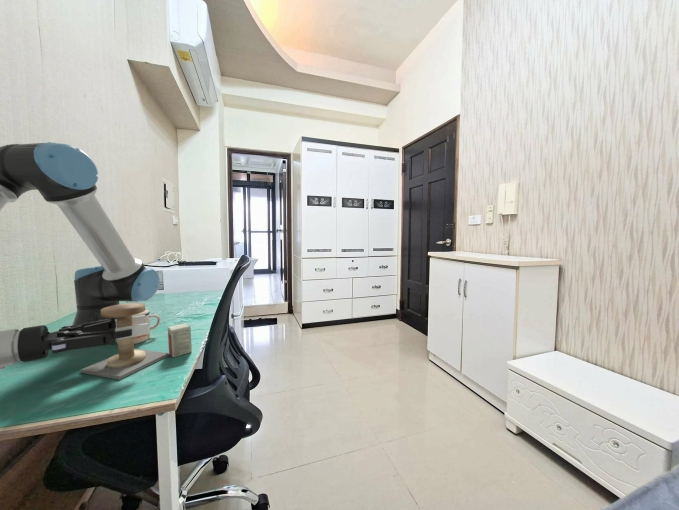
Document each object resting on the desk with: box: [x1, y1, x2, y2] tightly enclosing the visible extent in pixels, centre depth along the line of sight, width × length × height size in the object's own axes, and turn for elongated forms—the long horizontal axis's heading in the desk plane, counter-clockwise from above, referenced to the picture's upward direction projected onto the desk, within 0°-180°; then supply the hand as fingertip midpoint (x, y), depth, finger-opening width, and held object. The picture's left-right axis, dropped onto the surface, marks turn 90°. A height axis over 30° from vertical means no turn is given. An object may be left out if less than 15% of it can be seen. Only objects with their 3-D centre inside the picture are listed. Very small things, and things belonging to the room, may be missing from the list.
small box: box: [167, 322, 192, 358], centre depth 77 cm, size 5×4×8 cm
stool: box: [101, 302, 146, 368], centre depth 70 cm, size 9×9×14 cm
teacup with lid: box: [115, 308, 161, 345], centre depth 87 cm, size 12×9×12 cm
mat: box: [80, 347, 170, 381], centre depth 71 cm, size 13×13×1 cm
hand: (146, 323), depth 73 cm, fingers open, 9 cm apart
